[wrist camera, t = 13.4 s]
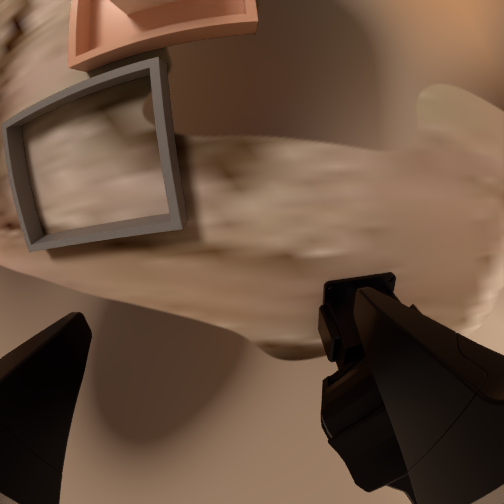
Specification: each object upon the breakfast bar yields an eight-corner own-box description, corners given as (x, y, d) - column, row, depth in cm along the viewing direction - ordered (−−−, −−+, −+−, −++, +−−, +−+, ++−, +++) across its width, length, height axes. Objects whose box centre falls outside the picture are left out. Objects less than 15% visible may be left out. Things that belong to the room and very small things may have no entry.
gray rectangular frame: (166, 63, 14) (158, 56, 13) (187, 219, 19) (182, 229, 17) (16, 121, 15) (1, 123, 13) (41, 242, 19) (29, 252, 18)
